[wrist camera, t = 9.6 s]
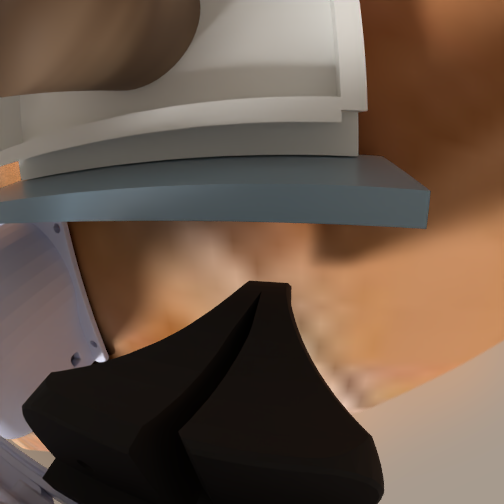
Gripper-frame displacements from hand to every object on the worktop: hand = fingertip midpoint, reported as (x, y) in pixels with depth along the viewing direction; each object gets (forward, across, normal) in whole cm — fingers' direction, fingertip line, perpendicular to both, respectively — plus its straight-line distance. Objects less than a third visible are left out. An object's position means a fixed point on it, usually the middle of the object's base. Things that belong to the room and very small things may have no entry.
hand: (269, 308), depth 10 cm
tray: (+2, +5, -9) cm, 11 cm away
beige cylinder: (+1, +4, -10) cm, 11 cm away
